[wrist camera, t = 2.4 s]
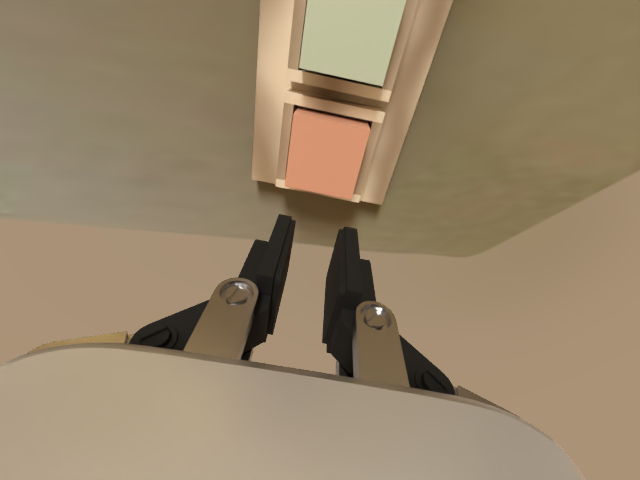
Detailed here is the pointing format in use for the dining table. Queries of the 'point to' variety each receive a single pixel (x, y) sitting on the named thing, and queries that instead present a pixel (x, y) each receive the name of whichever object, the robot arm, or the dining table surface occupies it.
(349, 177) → the terracotta button
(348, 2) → the sage button
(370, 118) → the button panel
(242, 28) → the dining table surface
